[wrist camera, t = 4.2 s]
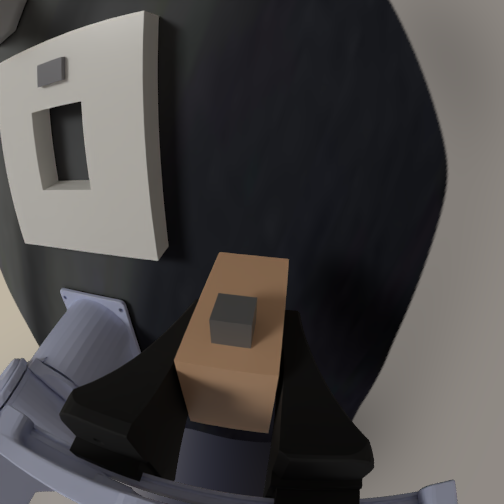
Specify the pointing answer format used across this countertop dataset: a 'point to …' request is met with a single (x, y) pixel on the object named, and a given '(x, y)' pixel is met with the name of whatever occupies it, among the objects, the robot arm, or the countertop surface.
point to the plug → (235, 343)
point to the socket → (88, 139)
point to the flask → (10, 16)
